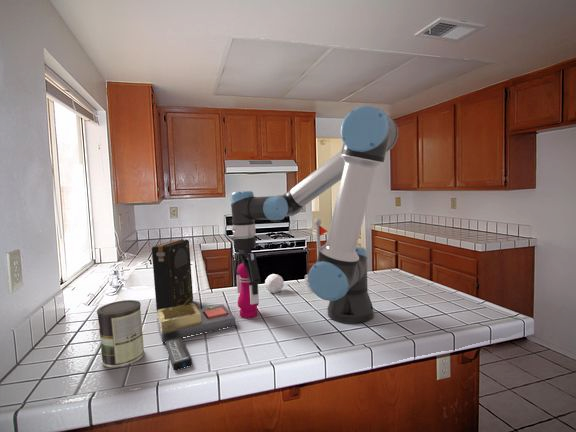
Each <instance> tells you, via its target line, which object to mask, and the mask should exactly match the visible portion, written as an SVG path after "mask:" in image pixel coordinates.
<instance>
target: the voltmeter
mask: <svg viewBox="0 0 576 432" xmlns="http://www.w3.org/2000/svg"><path fill="white" fill-rule="evenodd" d="M151 257H152V258H151V259H152V270H153V282H154V284H153V285H154V294H155V296H154V297H155V307H156V312H157V313H158V310H160V309H165V308H170V307H175V306H181V305H186V304H191V303H192V302H193V301H194V294H193V293H194V292H193V282H192V281H193V277H192V276H193V275H192V265H191V251H190V240H189V239H182V238H180V239H176V240H175V239H174V240H171V241H167V242H164V243H160V244H157V245H154V246H152V247H151Z"/></svg>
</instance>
